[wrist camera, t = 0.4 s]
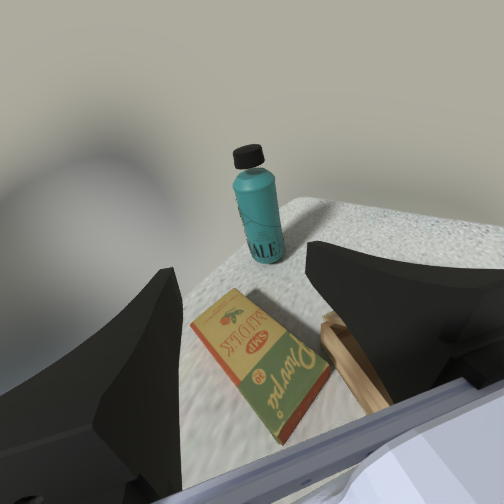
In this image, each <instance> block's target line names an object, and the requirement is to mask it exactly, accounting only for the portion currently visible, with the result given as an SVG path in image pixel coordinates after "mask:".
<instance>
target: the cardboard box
mask: <svg viewBox="0 0 504 504" xmlns="http://www.w3.org/2000/svg"><path fill="white" fill-rule="evenodd" d="M321 347H322V348H323V350H324V351H325V353H326V354H327V356H328V357H329V359H330V360H331V362H332V363H333V365H334V366H335V368H336V369H337V371H338V372H339V374H340V375H341V377H342V378H343V380H344V381H345V383H346V384H347V386H348V387H349V389H350V390H351V392H352V393H353V395H354V396H355V398H356V399H357V401H358V402H359V404H360V405H361V407H362V408H363V410H364V412H365V413H366V415H370V414H372V413H375V412H377V411H380V410H382V409H384V408H387V407H389V406H392V405H394V403H393V401H392V399H391V398H390V396H389V394H388V392H387V390H386V389H385V387H384V385H383V383H382V381H381V380H380V378H379V376H378V374H377V373H376V371H375V369H374V368H373V366H372V364H371V363H370V361H369V359H368V358H367V356H366V355H365V353H364V352H363V350H362V348H361V347H360V345H359V344H358V342H357V341H356V339H355V338H354V336H353V335H352V333H351V332H350V331H349V329H348V328H347V326H343V325H339V324H336V323H332V322H328V321H326V322H324V323H322V324H321Z"/></svg>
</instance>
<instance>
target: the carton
mask: <svg viewBox="0 0 504 504" xmlns="http://www.w3.org/2000/svg"><path fill="white" fill-rule="evenodd" d="M190 327H191V328H192V329H193V331H194V332H195V333H196V334H197V336H198V337H199V338H200V340H201V341H202V342H203V344H204V345H205V346H206V348H207V349H208V350H209V352H210V353H211V354H212V356H213V357H214V358H215V359H216V361H217V362H218V363H219V365H220V366H221V367H222V369H223V370H224V371H225V373H226V374H227V375H228V376H229V378H230V379H231V380H232V382H233V383H234V384H235V386H236V387H237V388H238V390H239V391H240V392H241V394H242V395H243V396H244V398H245V399H246V400H247V402H248V403H249V404H250V406H251V407H252V408H253V410H254V411H255V412H256V414H257V415H258V416H259V418H260V419H261V420H262V422H263V423H264V425H265V426H266V427H267V429H268V430H269V431H270V433H271V434H272V436H273V437H274V439H275V440H276V442H277V443H278V444H281V445H282V446H283V445H284V444H285V442H286V441H287V439H288V438H289V436H290V435H291V433H292V432H293V430H294V429H295V427H296V426H297V424H298V423H299V421H300V420H301V418H302V417H303V415H304V414H305V412H306V411H307V409H308V408H309V406H310V405H311V403H312V402H313V400H314V399H315V397H316V396H317V395H318V393H319V392H320V390H321V389H322V387H323V385H324V384H325V382H326V381H327V379H328V378H329V375H330V365H329V364H328V362H327V361H325V360H324V359H323V358H322V357H321V356H319V355H318V354H317V353H315V352H314V351H313V350H312V349H310V348H309V347H308V346H307V345H305V344H304V343H303V342H302V341H300V340H299V339H298V338H297V337H295V336H294V335H293V334H292V333H290V332H289V331H288V330H286V329H285V328H284V327H283V326H282V325H280V324H279V323H278V322H276V321H275V320H274V319H273V318H271V317H270V316H269V315H268V314H267V313H265V312H264V311H263V310H262V309H260V308H259V307H258V306H257V305H255V304H254V303H253V302H252V301H250V300H249V299H248V298H247V297H245V296H244V295H243V294H242V293H240V292H239V291H238V290H237V289H236V288H233V289H232V290H231V291H229V292H228V293H227V294H226V295H224V296H223V297H222V298H221V299H219V300H218V301H217V302H216V303H214V304H213V305H212V306H211V307H210V308H208V309H207V310H206V311H205V312H204V313H202V314H201V315H200V316H199V317H198V318H196V319H195V320H194V321H193V322H192V323H191V324H190Z"/></svg>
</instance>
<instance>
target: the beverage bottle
mask: <svg viewBox="0 0 504 504" xmlns="http://www.w3.org/2000/svg"><path fill="white" fill-rule="evenodd" d="M233 157H234V165H235V168H236V169H248V170H245V171H243V172H241V173H240V174H239V175H238V176H237V177H236V179H235V181H234V183H233V189H234V191H235V195H236V198H237V199H236V200H237V203H238V207H239V208H238V209H239V210H240V215H241V217H242V221H243V225H244V228H245V229H244V230H245V232H246V236H247V239H248V241H247V242H248V243H249V244H248V246H249V250H251V251H250V253H251V254H252V257H253V258H254V259H255V260H256V261H257V262H259V263H264V264H268V263H273V262H276V261H277V260H279V259H280V258H281V257H282V256H283V254H284V242H283V240H284V239H283V236H282V229H281V223H280V216H279V208H278V201H277V194H276V186H275V176H274V175H273V174H272V173H271V172H269V171H268V170H266V169H264V168H254V167H256V166H259V165H261V164H262V163H264V161H265V159H264V155H263V151H262V147H261V145H259V144H251V145H246V146H243V147H240V148H237V149H236V150H234V151H233ZM250 168H252V169H250Z"/></svg>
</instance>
